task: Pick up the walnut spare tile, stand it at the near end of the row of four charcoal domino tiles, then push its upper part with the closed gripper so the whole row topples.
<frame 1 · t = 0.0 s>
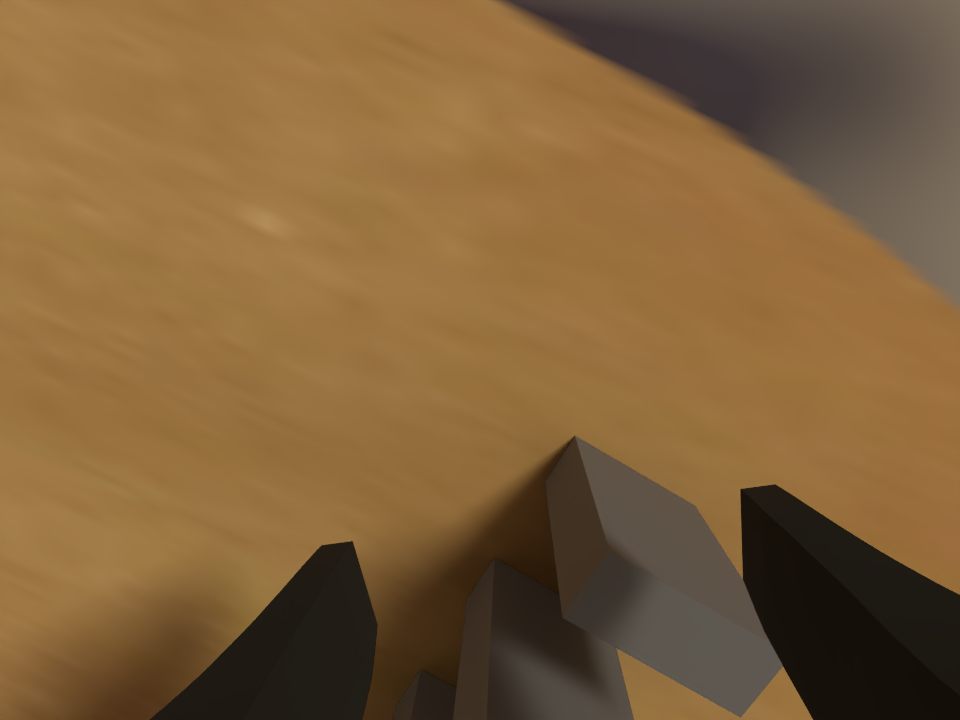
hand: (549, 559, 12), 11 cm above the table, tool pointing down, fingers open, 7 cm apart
tile 4: (619, 493, 23), on the table
tile 2: (463, 718, 25), on the table
tile 3: (538, 611, 24), on the table
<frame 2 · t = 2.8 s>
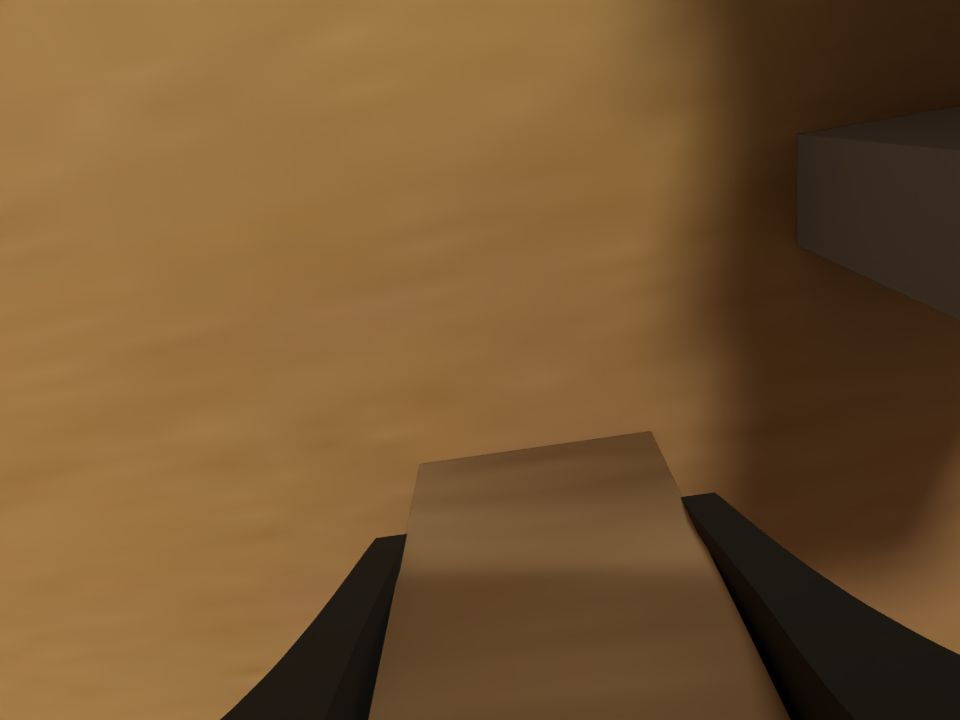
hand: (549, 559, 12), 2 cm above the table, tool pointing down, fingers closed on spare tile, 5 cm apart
tile 1: (939, 167, 12), on the table
spare tile: (540, 487, 14), on the table, touching gripper
when the fingers open (3 cm above the table, at t = 6.0 s): spare tile drops 1 cm, on the table.
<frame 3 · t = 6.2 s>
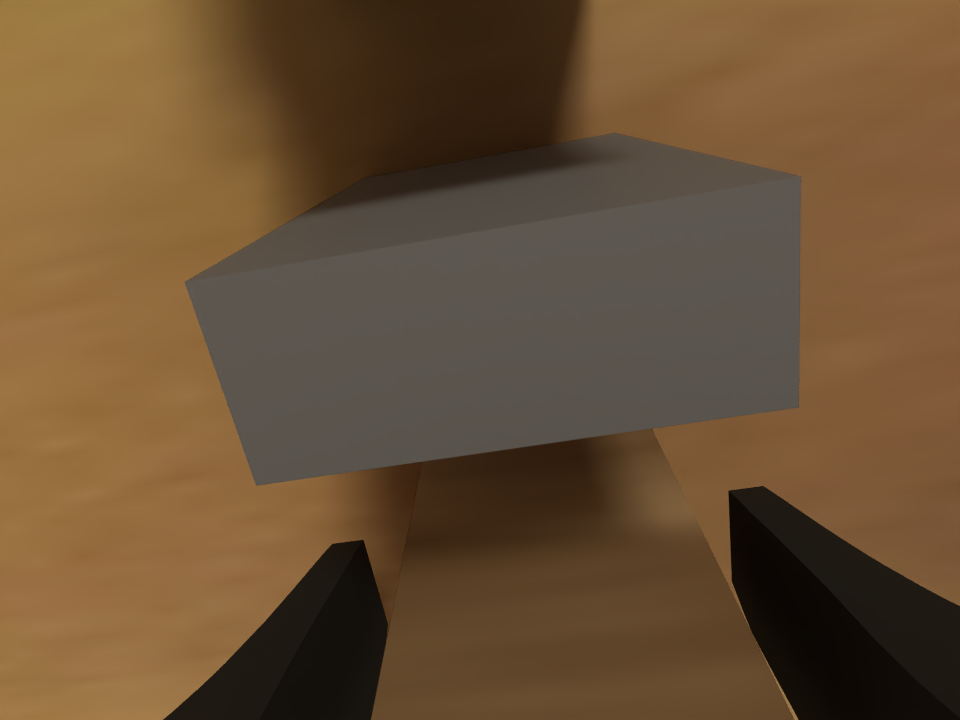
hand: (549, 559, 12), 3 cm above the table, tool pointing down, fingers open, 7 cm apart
tile 1: (495, 207, 13), on the table
spare tile: (538, 463, 15), on the table
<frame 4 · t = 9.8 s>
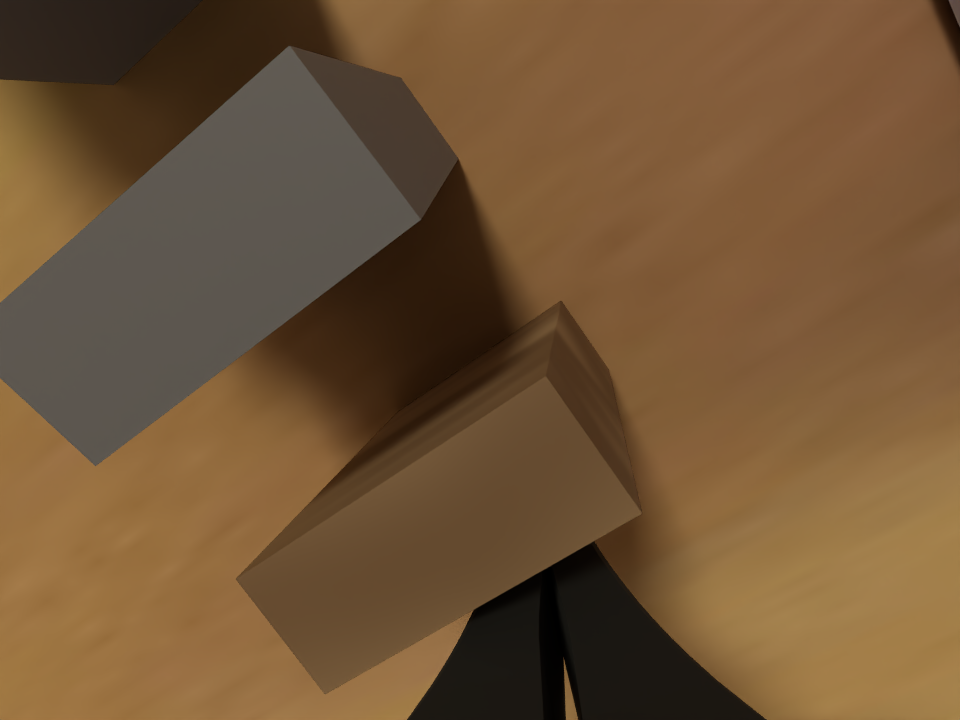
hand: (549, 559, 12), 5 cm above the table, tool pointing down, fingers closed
tile 1: (341, 190, 14), on the table
spare tile: (499, 391, 16), on the table, tilted 12°
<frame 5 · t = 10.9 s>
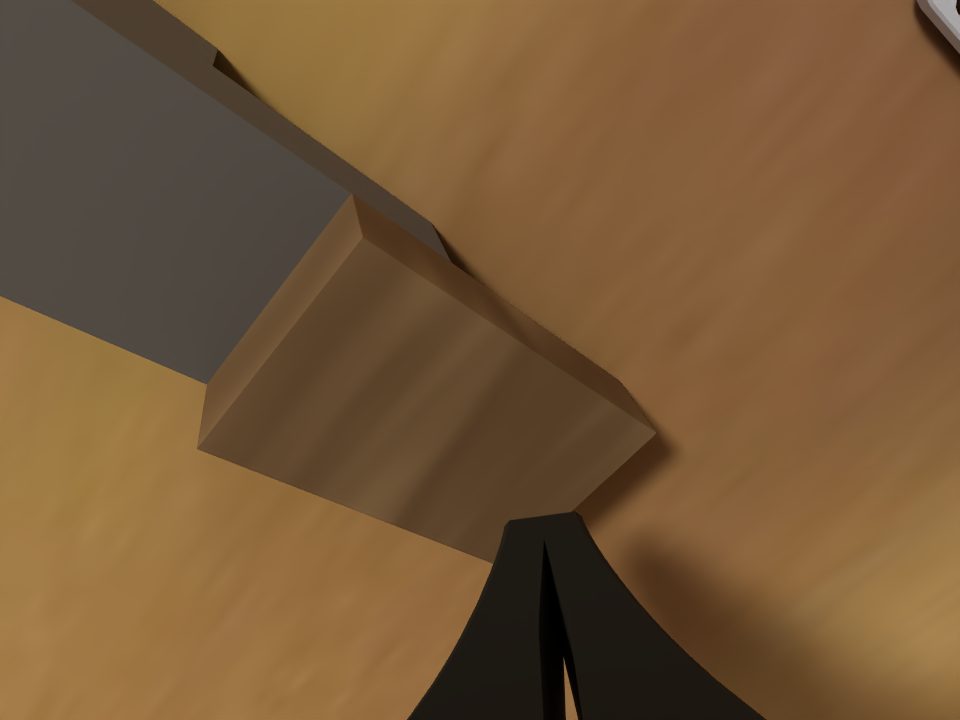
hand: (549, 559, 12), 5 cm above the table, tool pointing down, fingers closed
tile 2: (150, 160, 13), point 1 cm above the table, tilted 69°, touching tile 3
tile 1: (371, 325, 15), point 1 cm above the table, tilted 69°, touching spare tile
spare tile: (564, 474, 16), point 1 cm above the table, tilted 70°, touching tile 1
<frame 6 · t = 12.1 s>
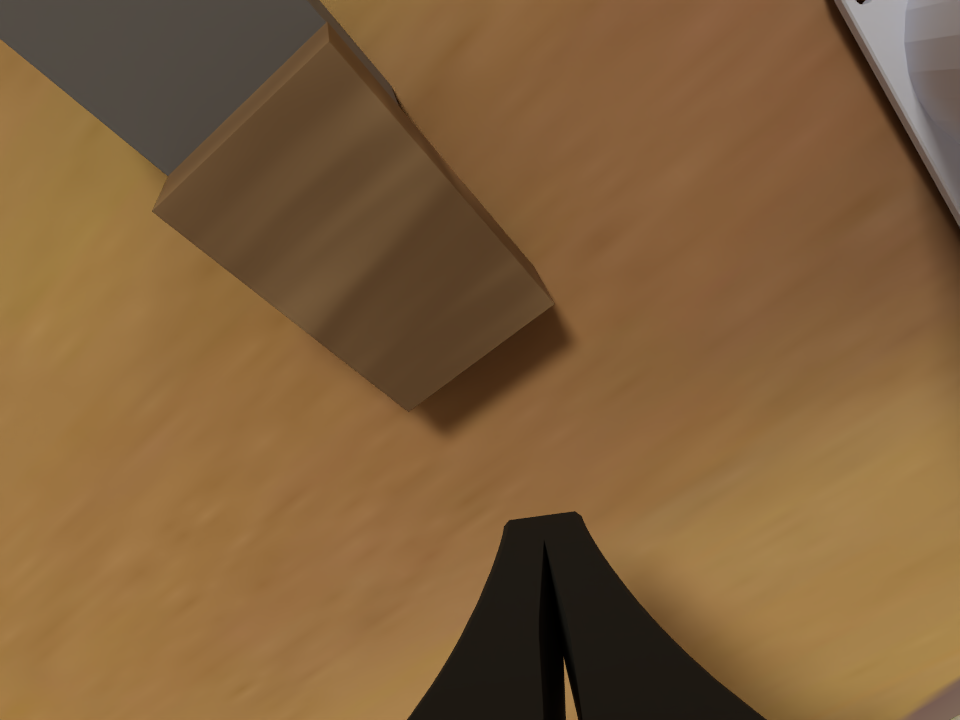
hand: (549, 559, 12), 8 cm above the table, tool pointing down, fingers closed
tile 1: (321, 164, 16), point 1 cm above the table, tilted 69°, touching spare tile, tile 2
spare tile: (471, 338, 18), point 1 cm above the table, tilted 70°, touching tile 1
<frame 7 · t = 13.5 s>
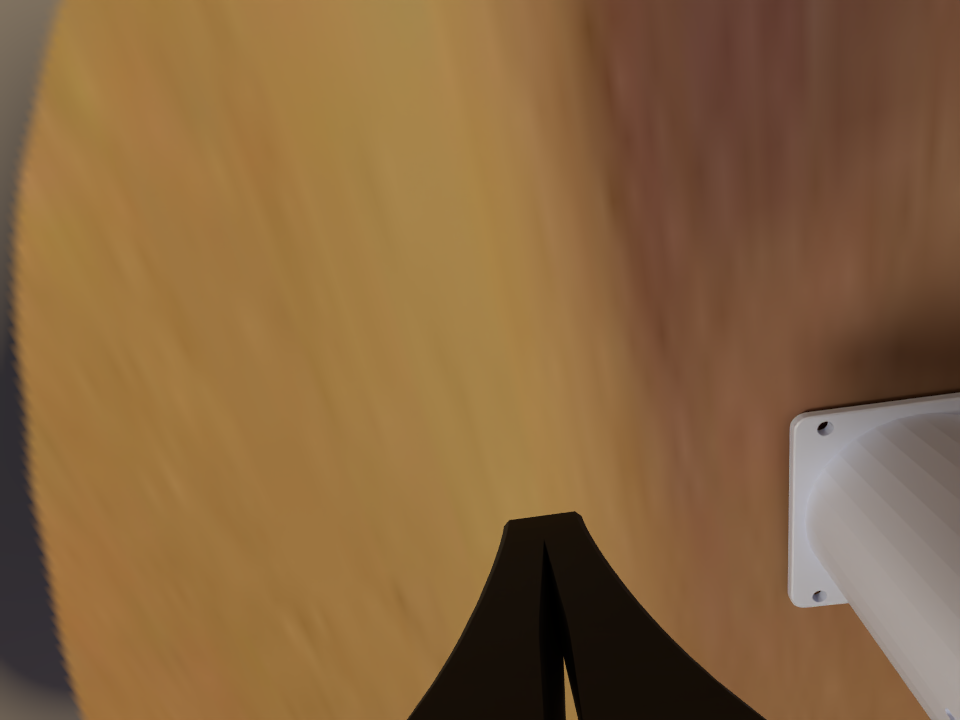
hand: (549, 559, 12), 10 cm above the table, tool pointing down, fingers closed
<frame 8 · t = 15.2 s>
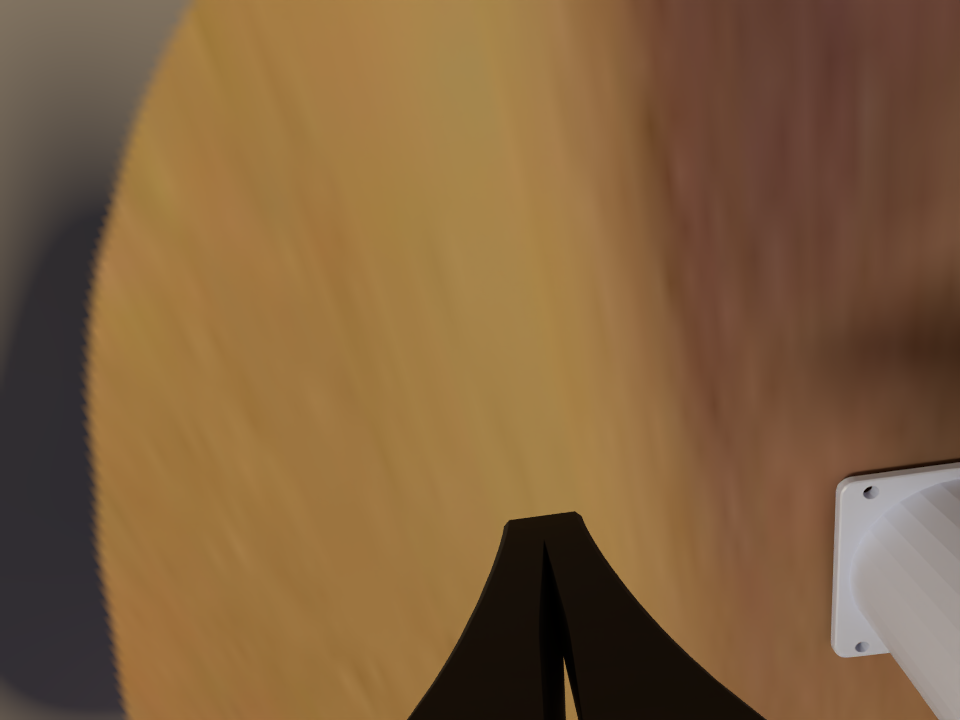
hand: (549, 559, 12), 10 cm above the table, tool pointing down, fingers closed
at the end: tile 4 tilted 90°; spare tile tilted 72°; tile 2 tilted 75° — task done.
